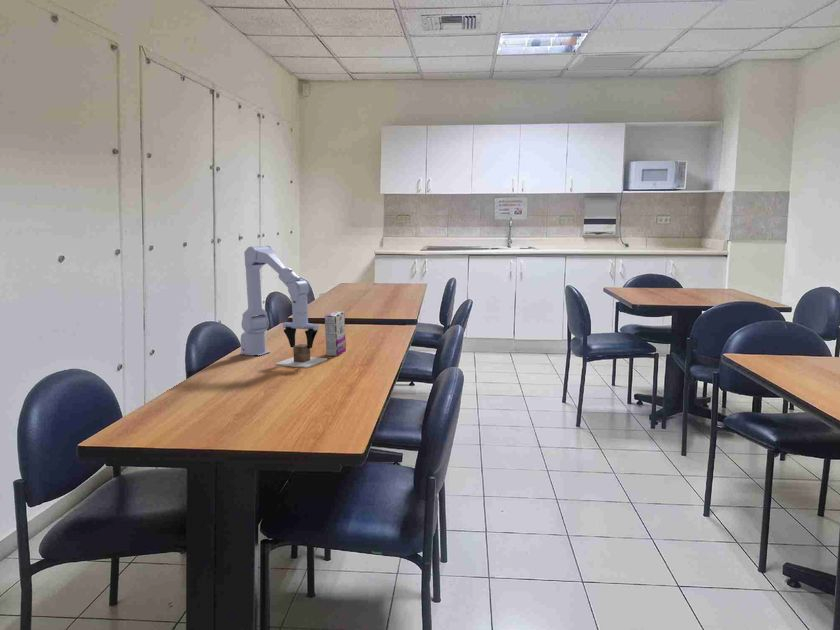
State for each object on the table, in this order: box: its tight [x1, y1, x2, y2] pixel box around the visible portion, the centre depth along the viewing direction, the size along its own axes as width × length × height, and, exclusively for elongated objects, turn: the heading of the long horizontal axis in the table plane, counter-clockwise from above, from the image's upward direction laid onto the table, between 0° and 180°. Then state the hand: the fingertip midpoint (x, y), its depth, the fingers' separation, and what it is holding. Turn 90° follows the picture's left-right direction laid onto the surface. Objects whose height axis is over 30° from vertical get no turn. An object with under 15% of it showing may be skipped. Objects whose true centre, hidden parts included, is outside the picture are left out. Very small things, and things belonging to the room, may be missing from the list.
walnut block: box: [292, 343, 311, 363], centre depth 242 cm, size 4×4×6 cm
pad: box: [275, 356, 328, 369], centre depth 242 cm, size 14×14×1 cm
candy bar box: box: [324, 311, 347, 357], centre depth 257 cm, size 11×5×16 cm, turn 168°
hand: (301, 347), depth 241 cm, fingers open, 7 cm apart
